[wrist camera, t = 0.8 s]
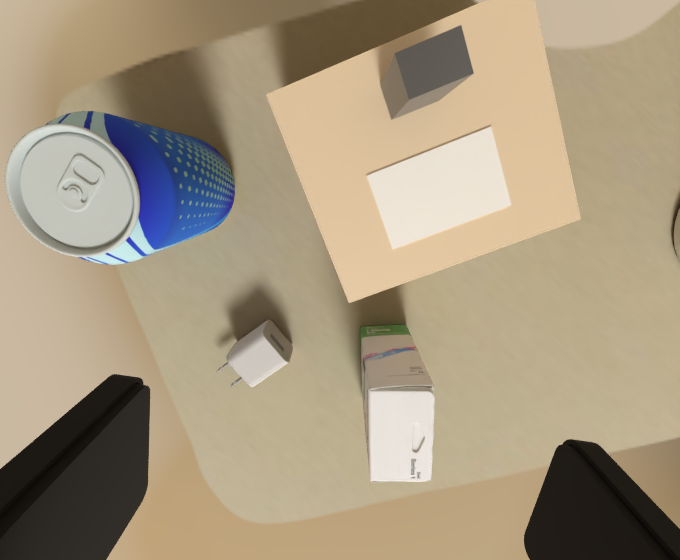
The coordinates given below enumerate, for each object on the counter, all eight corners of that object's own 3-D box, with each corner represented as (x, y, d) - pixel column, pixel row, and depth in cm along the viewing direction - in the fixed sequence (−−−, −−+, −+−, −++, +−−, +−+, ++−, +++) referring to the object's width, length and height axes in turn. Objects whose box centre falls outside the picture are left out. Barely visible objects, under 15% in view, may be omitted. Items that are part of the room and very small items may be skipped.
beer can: (250, 221, 35) (178, 254, 20) (165, 241, 35) (30, 289, 20) (222, 127, 33) (118, 82, 17) (132, 150, 33) (-46, 126, 18)
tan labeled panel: (523, -12, 21) (604, -96, 15) (573, 217, 25) (657, 232, 18) (268, 97, 23) (239, 64, 16) (348, 299, 26) (351, 339, 20)
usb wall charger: (293, 346, 38) (288, 365, 35) (242, 382, 40) (232, 404, 36) (269, 317, 38) (260, 333, 34) (217, 354, 39) (204, 374, 35)
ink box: (359, 325, 38) (366, 388, 26) (407, 323, 38) (437, 386, 26) (360, 399, 40) (369, 487, 29) (407, 397, 40) (433, 485, 29)
